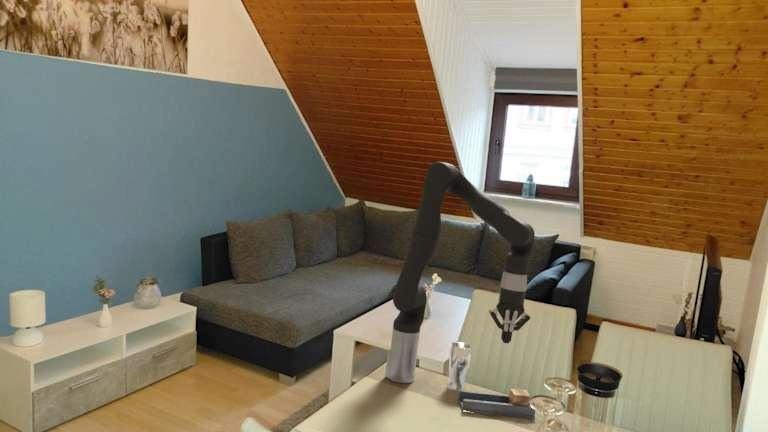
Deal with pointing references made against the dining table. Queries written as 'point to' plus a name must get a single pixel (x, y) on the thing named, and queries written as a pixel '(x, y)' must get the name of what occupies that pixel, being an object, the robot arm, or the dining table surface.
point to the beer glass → (458, 365)
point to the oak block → (519, 397)
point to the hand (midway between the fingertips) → (505, 342)
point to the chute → (493, 405)
